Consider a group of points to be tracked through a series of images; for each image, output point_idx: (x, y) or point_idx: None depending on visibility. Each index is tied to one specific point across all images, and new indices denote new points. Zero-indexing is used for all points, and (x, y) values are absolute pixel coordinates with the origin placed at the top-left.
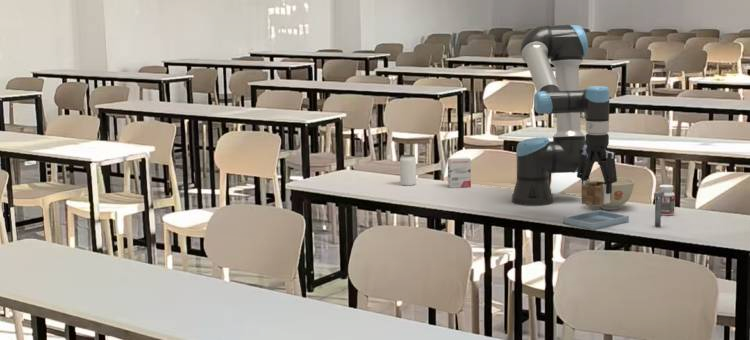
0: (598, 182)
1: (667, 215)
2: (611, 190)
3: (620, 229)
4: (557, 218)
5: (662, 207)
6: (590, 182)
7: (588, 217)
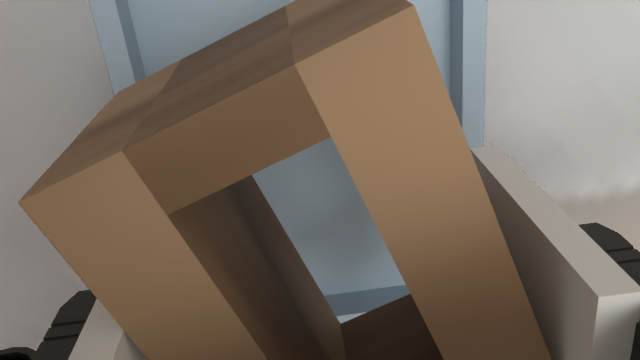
0: (189, 197)
1: None
2: (631, 248)
3: (590, 118)
4: (5, 258)
5: None
6: (144, 342)
7: (144, 77)
